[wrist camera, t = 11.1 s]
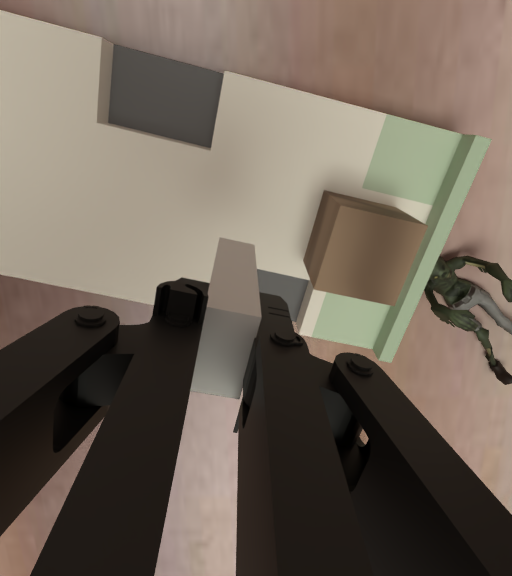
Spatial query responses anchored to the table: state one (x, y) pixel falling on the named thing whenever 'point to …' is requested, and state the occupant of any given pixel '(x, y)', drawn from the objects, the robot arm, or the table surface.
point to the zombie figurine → (469, 302)
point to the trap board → (202, 176)
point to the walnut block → (361, 248)
